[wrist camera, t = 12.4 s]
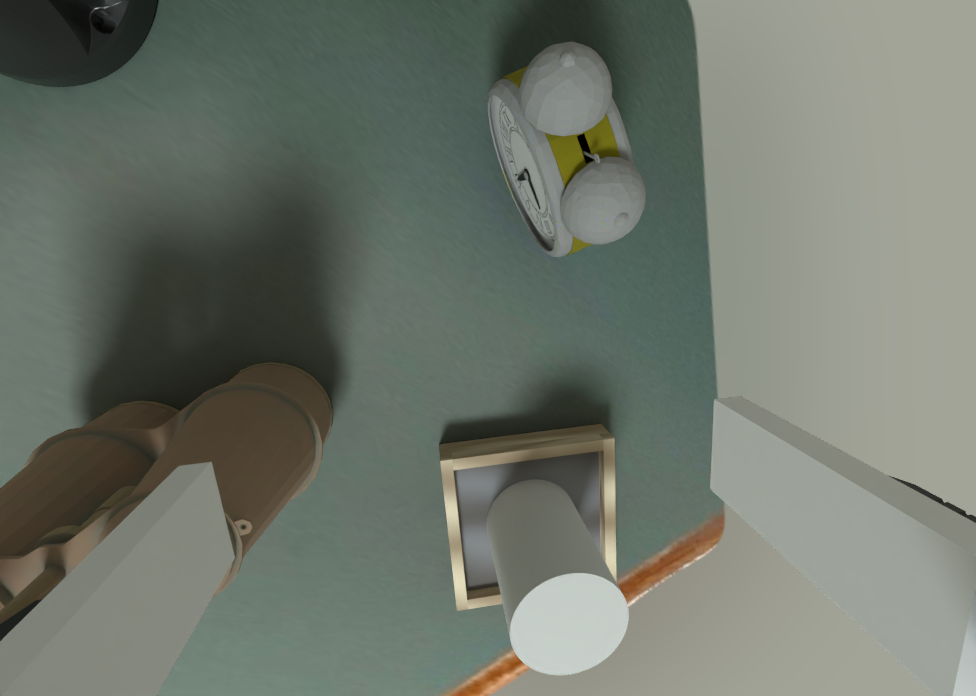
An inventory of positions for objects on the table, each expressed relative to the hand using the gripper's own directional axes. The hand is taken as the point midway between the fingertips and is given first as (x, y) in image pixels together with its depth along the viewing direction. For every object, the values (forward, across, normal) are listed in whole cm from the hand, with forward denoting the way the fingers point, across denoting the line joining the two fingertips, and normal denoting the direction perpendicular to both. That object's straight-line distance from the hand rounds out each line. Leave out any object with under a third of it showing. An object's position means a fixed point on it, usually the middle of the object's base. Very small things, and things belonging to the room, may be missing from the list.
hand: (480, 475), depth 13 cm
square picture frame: (+29, +6, -20) cm, 35 cm away
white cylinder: (+27, +6, -20) cm, 34 cm away
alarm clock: (+29, +9, +10) cm, 32 cm away
